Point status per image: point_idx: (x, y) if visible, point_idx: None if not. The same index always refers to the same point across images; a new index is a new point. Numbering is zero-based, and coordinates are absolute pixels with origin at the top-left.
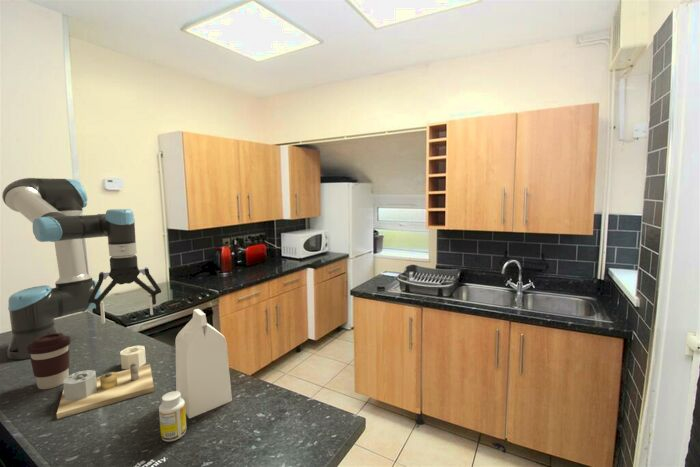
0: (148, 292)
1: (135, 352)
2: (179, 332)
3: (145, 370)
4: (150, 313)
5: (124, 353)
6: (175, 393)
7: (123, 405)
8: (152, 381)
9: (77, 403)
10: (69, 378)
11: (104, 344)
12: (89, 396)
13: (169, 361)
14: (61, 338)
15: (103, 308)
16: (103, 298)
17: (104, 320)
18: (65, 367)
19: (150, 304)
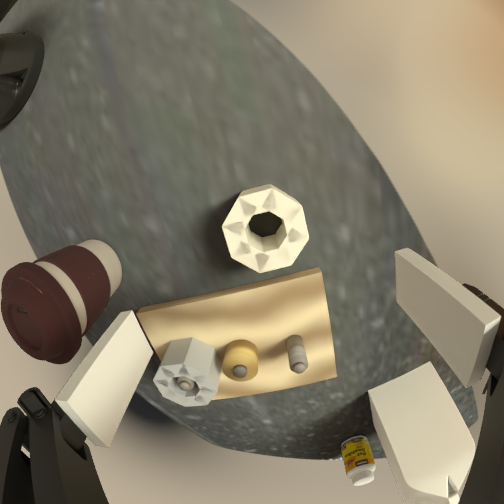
0: (484, 417)
1: (280, 255)
2: (416, 490)
3: (313, 306)
4: (400, 298)
5: (242, 251)
6: (369, 479)
7: (285, 394)
8: (333, 359)
9: None
10: (165, 386)
11: (131, 44)
12: None
13: (365, 239)
14: (54, 339)
15: (113, 405)
16: (97, 477)
17: (145, 354)
18: (107, 296)
19: (436, 344)
